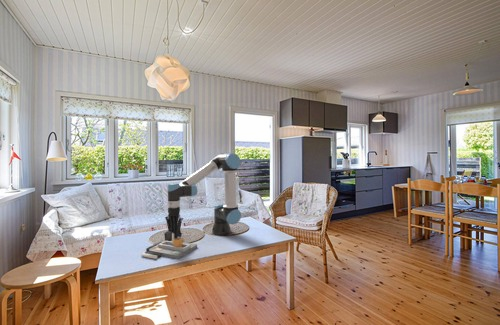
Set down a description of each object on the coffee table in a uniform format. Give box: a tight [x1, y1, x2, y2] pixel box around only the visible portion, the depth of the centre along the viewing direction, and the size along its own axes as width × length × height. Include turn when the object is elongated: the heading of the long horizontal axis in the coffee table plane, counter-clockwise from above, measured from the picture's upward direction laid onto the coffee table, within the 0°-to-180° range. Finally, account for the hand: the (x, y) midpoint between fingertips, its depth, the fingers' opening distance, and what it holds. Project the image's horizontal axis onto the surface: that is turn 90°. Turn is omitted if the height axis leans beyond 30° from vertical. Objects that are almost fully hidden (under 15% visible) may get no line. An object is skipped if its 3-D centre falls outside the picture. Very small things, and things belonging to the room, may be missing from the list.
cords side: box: [145, 241, 163, 252], centre depth 162 cm, size 14×5×2 cm, turn 159°
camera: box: [164, 229, 183, 241], centre depth 178 cm, size 13×10×10 cm
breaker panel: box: [149, 240, 198, 260], centre depth 158 cm, size 20×22×4 cm
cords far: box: [140, 251, 162, 260], centre depth 148 cm, size 12×5×2 cm, turn 69°
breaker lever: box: [173, 236, 184, 247], centre depth 157 cm, size 4×4×7 cm
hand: (174, 242), depth 158 cm, fingers closed
